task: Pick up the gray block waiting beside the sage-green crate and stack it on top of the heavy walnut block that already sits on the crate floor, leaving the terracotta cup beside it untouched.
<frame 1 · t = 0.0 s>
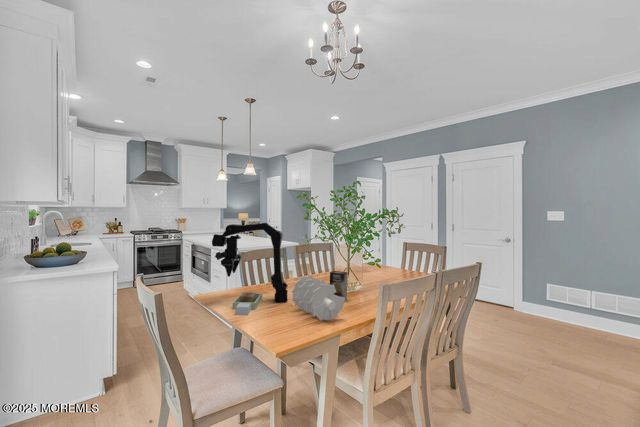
hand: (231, 274, 169), 15 cm above the table, fingers open, 9 cm apart
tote: (248, 305, 162), on the table
spiral staircase: (316, 315, 150), on the table
walnut block: (247, 305, 159), point 1 cm above the table, touching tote
coffee box: (338, 300, 175), on the table
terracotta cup: (251, 301, 166), point 1 cm above the table, touching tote
gray block: (243, 314, 149), on the table
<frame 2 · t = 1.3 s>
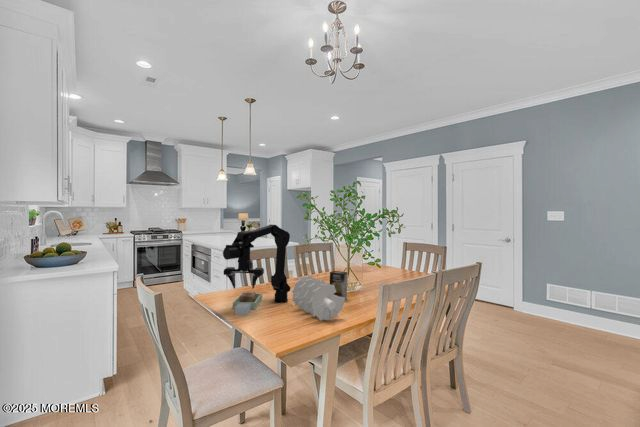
hand: (243, 288, 149), 12 cm above the table, fingers open, 9 cm apart
nothing on the table moved.
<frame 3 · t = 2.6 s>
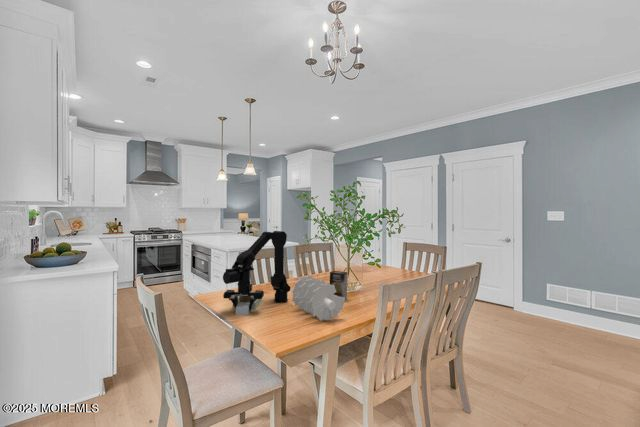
hand: (243, 311, 149), 1 cm above the table, fingers closed on gray block, 6 cm apart
gray block: (243, 313, 149), on the table, touching gripper
everything else where it was.
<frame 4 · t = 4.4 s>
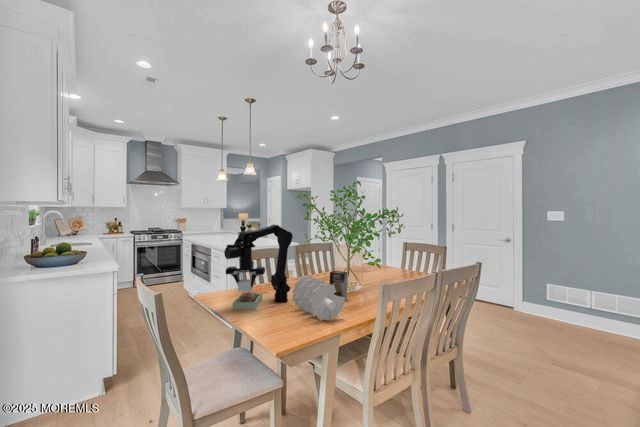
hand: (245, 287, 152), 12 cm above the table, fingers closed on gray block, 6 cm apart
gray block: (245, 289, 152), point 11 cm above the table, touching gripper
everything else where it was.
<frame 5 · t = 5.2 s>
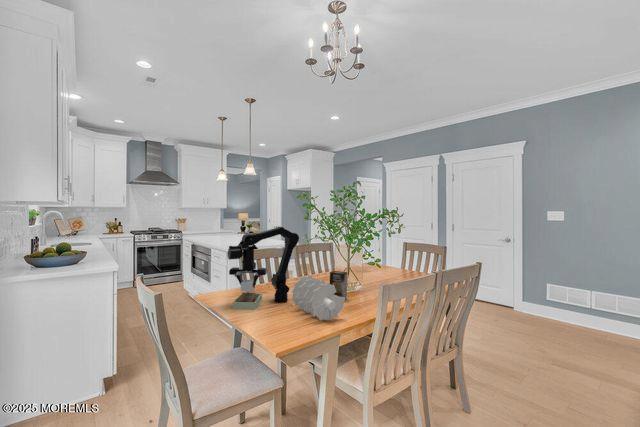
hand: (248, 287, 159), 10 cm above the table, fingers closed on gray block, 6 cm apart
gray block: (247, 289, 159), point 9 cm above the table, touching gripper
everything else where it was.
when the fingers open (9 cm above the table, at t = 5.8 s): gray block drops 2 cm, resting on walnut block.
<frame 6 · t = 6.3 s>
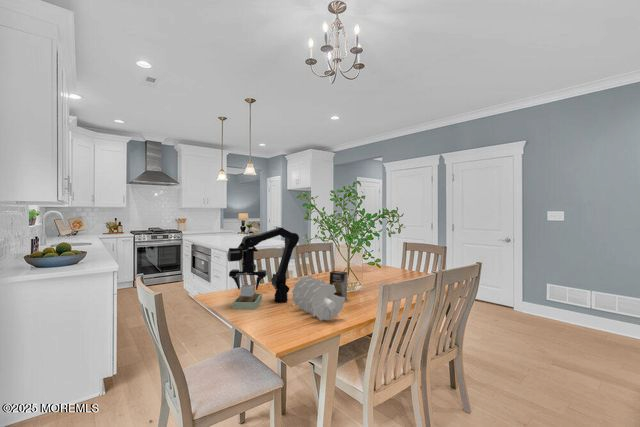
hand: (248, 289, 159), 9 cm above the table, fingers open, 9 cm apart
walnut block: (247, 305, 159), point 1 cm above the table, touching gray block, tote
gray block: (247, 294, 159), point 7 cm above the table, touching walnut block
everything else where it was.
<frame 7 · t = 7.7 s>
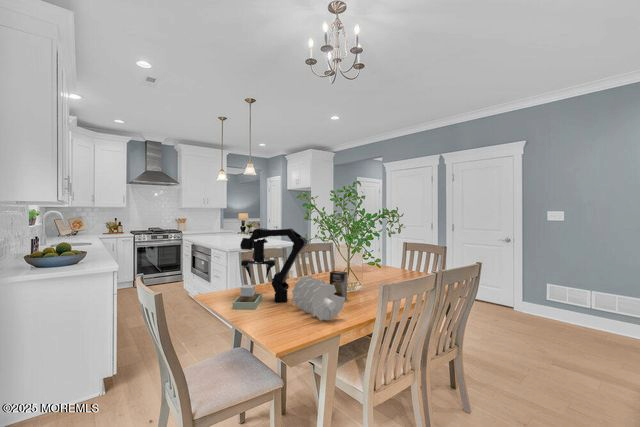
hand: (258, 277, 172), 12 cm above the table, fingers open, 9 cm apart
nothing on the table moved.
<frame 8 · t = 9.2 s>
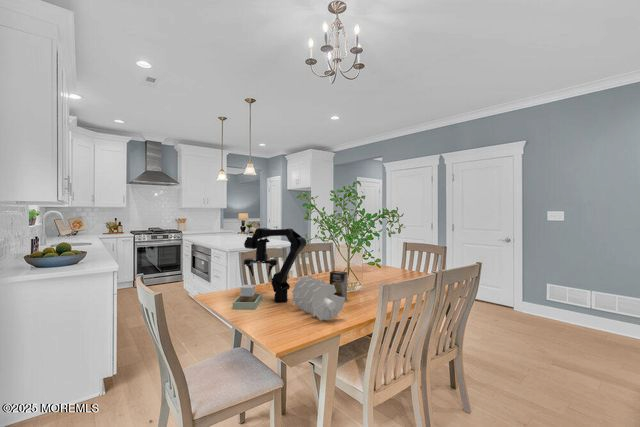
hand: (260, 276, 175), 12 cm above the table, fingers open, 9 cm apart
nothing on the table moved.
at the end: gray block 0.2 cm off-centre on the walnut block, point 6.0 cm above the walnut block's base; gray block tilted 0°; walnut block moved 0.0 cm from its start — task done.
